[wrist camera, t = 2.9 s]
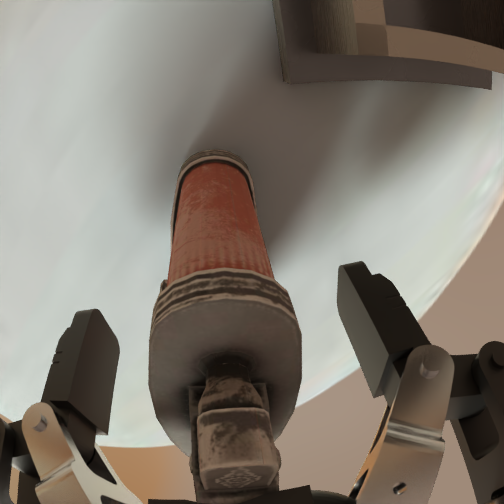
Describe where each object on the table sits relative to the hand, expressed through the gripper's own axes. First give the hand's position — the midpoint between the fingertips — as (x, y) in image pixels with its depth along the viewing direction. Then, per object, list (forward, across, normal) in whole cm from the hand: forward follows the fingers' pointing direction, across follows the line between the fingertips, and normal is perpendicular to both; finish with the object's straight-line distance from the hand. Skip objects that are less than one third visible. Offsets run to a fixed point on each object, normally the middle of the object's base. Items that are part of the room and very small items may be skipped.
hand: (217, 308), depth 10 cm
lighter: (+4, 0, 0) cm, 4 cm away
